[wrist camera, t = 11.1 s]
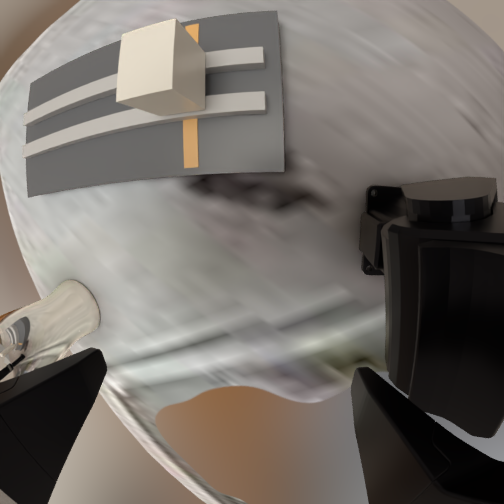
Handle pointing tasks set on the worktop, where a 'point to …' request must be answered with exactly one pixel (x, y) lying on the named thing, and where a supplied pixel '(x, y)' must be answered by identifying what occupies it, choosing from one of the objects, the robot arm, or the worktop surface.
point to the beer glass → (46, 329)
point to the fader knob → (161, 70)
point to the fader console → (161, 127)
